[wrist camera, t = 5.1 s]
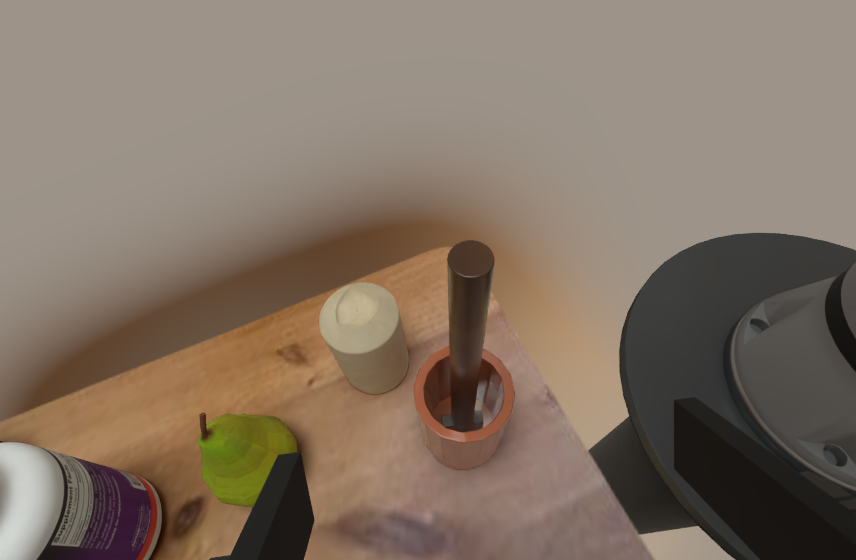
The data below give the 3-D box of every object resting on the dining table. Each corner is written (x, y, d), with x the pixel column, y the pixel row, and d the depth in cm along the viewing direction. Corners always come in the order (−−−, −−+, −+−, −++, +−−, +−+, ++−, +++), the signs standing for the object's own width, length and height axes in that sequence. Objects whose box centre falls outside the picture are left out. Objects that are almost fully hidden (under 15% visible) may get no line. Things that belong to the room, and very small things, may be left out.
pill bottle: (38, 619, 29) (-261, 661, 17) (65, 488, 33) (-157, 447, 21) (163, 588, 30) (-38, 606, 18) (174, 463, 34) (19, 409, 22)
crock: (492, 386, 36) (502, 339, 28) (508, 464, 33) (524, 434, 25) (419, 395, 36) (409, 351, 28) (427, 475, 33) (419, 448, 25)
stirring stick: (479, 412, 34) (509, 234, 16) (483, 433, 33) (519, 272, 15) (440, 417, 34) (424, 244, 15) (443, 439, 33) (430, 283, 15)
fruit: (207, 490, 33) (98, 457, 23) (255, 412, 36) (177, 352, 26) (280, 527, 31) (196, 510, 21) (323, 442, 34) (269, 392, 24)
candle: (344, 337, 39) (314, 276, 31) (406, 330, 39) (393, 266, 31) (345, 399, 36) (311, 349, 28) (412, 390, 36) (399, 338, 28)
